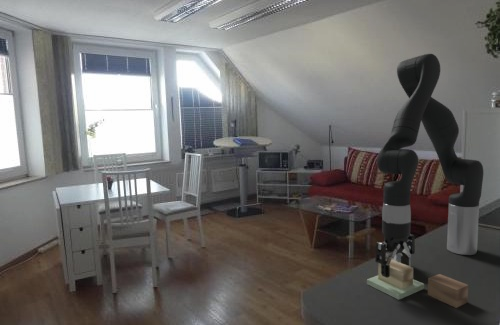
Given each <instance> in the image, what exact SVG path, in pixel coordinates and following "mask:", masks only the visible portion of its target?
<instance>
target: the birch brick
mask: <svg viewBox="0 0 500 325" xmlns="http://www.w3.org/2000/svg"><path fill="white" fill-rule="evenodd" d="M389 265H390V277H388V278H386V277H384V276H382V274H381V264H380V263H377V268H378V269H377V275H378V279H380V280H382V281H384V282H387V283H389V284H391V285H394V286H396V287H398V288H400V289H404V288H406V287H408V286H410V285H412V284H413V279H414V267H413V266H411V267H410V266H408V265H405V264H402V263H399V262H397V261H394V260H391V262H390V264H389Z"/></svg>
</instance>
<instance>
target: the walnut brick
mask: <svg viewBox="0 0 500 325" xmlns="http://www.w3.org/2000/svg"><path fill="white" fill-rule="evenodd" d="M427 296H429V297H431V298H433V299H436V300H438V301H440V302H442V303H444V304H447V305H449V306H451V307H453V308H456V309H457V308H459V307H461V306H463V305H466V304H467V303H468V299H469V298H468V297H469V284H467V283H464V282H461V281H460V280H456V279H454V278H451V277H448V276H447V275H444V274H441V273H439V274H436V275H435V274H434V275H433V276H431V277H428V278H427Z"/></svg>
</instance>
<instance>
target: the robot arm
mask: <svg viewBox="0 0 500 325" xmlns="http://www.w3.org/2000/svg"><path fill="white" fill-rule="evenodd" d="M396 75H397V79H398V81H399V84H400V85H401V87H402V89H403V91H404V93H405V94H406V96H407V97H408V99H407V100H406V101H405V102H404V104H403V105H402V106H401V108H400V109H399V111H397V113H396V115H395V118H394V121H393V125H392V128H391V132H390V135H389V136H388V138H387V139H386V141H385V143H384V144H383V146H382V147H381V149H380V151H379V153H378V154H377V158H376V167H377V168H378V170H379V171H380V172H381V173H384V174H392V175H393V174H394V175H401V178H400V179H399V180H396V181H395V180H394V181H388V182H385V184H384V185H383V191H382V192H383V201H382V202H383V203H382V212H381V216H382V217H381V218H382V220H381V222H382V224H381V233H382V234H383V236H384V240H383V241H382V242H380V241H376V244H375V260H374V261H375V263H377V264H378V263H380V264H381V274H382V276H384V277H386V278H388V277H390V265H389V264H390V262H391V260H392V259H393V258H394V257H395V255H396V254H398V253H401V255H403V256H401V263H402V264H405V265H408V266H409V258H410V257H412V255H414V254H415V253H416V252H415V251H416V246H415V244H416V240H415V239H416V238H415V234H412V233H411V227H412V226H411V223H412V220H411V219H412V214H411V213H412V211H411V210H412V209H411V189H412V185H413V181H414V177H415V175H416V171H417V168H418V165H419V156H418V154H417V153H416V151H415V150H414V149H408V147H411V146H413V145H415V144H416V142H417V140H418V135H419V130H420V129H421V128H420V127H421V123H422V125H423V128H424V130H425V131H426V134H427V136H428V137H429V140H430V142H431V144H432V145H433V148H434V151H435V152H436V155H437V158H438V160H439V164H440V166H441V170H442V173H443V175H444V177H445V179H446V181H447V182H449V183H450V184H454V185H459V186H460V185H461V186H463V189H462V191H461V192H458V193H452V194H450V195H449V196H448V213H447V215H448V217H447V238H446V249H447V251H449V252H451V253H453V254H458V255H463V256H472V255H476V254H477V251H478V242H479V241H478V239H479V216H480V215H479V213H480V212H479V210H480V200H481V197H482V189H483V182H484V166H483V164H482V162H481V161H479V160H475V159H467V158H460V157H458V156H457V154H456V152H455V148H454V147H455V143H456V142H457V139H458V137H459V132H460V130H459V129H460V128H459V125H458V123H457V120H456V118H455V116H454V114H453V112H452V110H450V108H448V106H446V105H444V104H443V103H442V102H439V101H438V100H436V99H435V98H434V97H432V95H433V93H434V91H435V89H436V86H437V84H438V82H439V79H440V76H441V64H440V61H439V59H438V57H437V56H436V55H435V54H433V53H425V54H422V55H421V54H420V55H418V56H415V57H412V58H407V59H404V60H403V61H401V62H399V63H398V65H397V67H396ZM404 148H405V149H404ZM406 148H407V149H406ZM409 246H410V247H411V249H409ZM387 252H388V253H387ZM386 258H387V259H386Z"/></svg>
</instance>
